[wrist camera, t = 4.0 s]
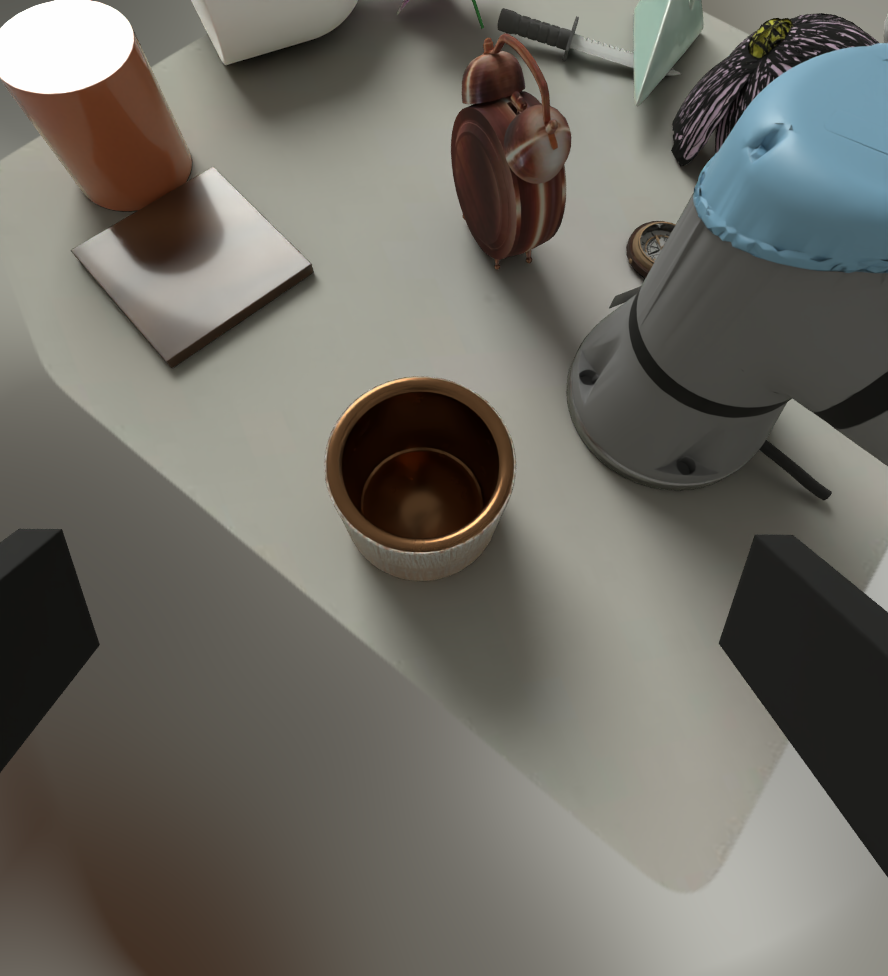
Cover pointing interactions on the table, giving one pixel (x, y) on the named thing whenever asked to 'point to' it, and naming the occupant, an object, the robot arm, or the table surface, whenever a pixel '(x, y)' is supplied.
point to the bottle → (267, 24)
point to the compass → (647, 244)
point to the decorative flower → (755, 75)
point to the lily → (473, 4)
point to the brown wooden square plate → (192, 265)
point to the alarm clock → (509, 154)
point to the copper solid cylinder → (94, 101)
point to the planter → (420, 475)
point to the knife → (563, 38)
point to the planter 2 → (661, 39)
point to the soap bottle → (886, 30)
